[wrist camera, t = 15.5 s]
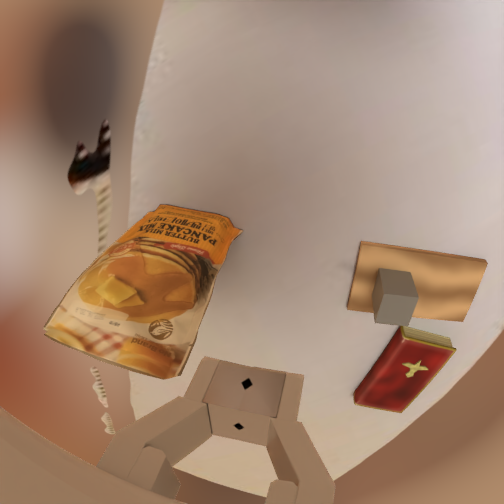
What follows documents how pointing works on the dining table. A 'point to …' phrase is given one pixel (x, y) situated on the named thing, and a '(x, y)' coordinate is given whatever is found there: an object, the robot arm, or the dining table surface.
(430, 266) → the board
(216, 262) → the pancake mix bag
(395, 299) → the gray rectangular block
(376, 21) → the dining table surface
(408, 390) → the hardcover book
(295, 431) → the robot arm
